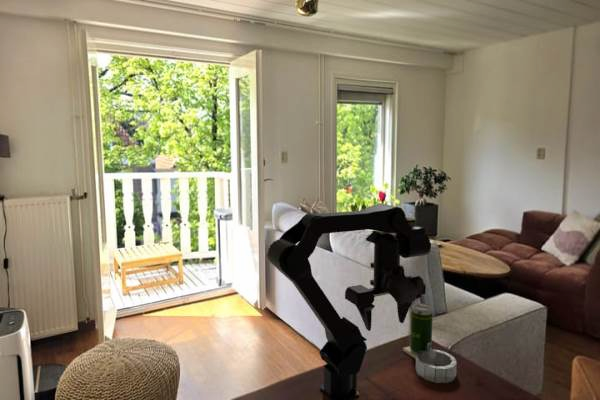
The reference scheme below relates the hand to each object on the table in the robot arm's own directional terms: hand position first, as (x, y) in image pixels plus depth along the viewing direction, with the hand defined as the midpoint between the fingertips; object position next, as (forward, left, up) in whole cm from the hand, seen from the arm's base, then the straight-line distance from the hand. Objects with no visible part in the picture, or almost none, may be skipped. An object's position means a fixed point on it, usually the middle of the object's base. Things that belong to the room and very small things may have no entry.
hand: (385, 326), depth 96 cm
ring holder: (+13, -3, -13) cm, 19 cm away
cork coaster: (+16, +6, -13) cm, 21 cm away
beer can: (+16, +6, -12) cm, 21 cm away
